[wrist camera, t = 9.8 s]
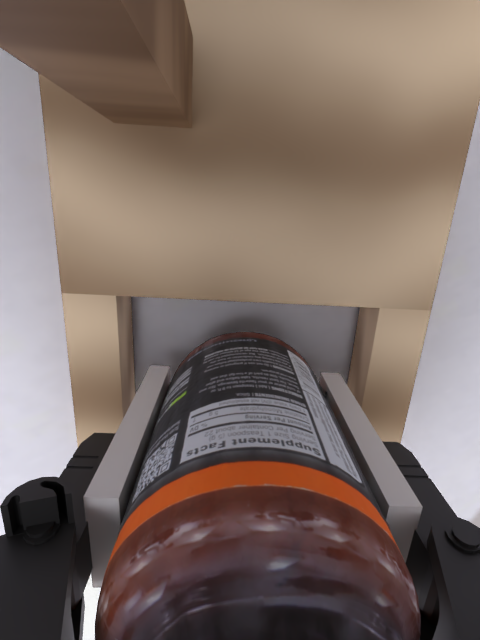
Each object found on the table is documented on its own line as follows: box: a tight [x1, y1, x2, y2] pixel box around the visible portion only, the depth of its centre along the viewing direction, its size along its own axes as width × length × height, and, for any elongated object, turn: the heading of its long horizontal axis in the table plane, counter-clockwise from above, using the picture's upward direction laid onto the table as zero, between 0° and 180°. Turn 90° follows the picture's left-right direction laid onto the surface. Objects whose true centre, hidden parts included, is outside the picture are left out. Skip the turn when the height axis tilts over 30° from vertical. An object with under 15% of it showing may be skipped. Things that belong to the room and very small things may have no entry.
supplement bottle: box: [95, 332, 421, 640], centre depth 9 cm, size 6×6×11 cm
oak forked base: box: [38, 0, 480, 447], centre depth 14 cm, size 20×14×2 cm
